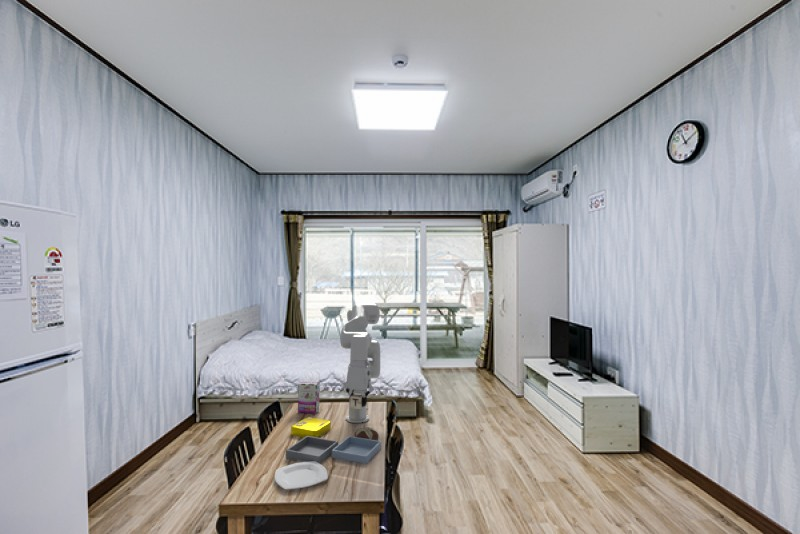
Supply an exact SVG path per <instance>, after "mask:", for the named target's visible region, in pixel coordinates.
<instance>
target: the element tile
mask: <svg viewBox="0 0 800 534" xmlns="http://www.w3.org/2000/svg"><path fill="white" fill-rule="evenodd" d="M331 425H332V424H331V420H328V419H322V418H316V417H312V416H311V417H310V416H308V417H305V418H303V419H302V420H299V421H297V422H296V423H294V424H292V425H291V426H290V435H291V436H295V437H299V438H305V437H306V436H311V437H316V438H318V437H319V438H320V437H322V436H323V435H324V434H326V433H328V432H330V431H331V428H332V427H331ZM321 435H322V436H321Z"/></svg>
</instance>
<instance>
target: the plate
mask: <svg viewBox="0 0 800 534" xmlns="http://www.w3.org/2000/svg"><path fill="white" fill-rule="evenodd" d="M328 479H329V478H328V470H327V468H326V467H325V466H324V465H322V464H321V463H320V464H319V463H318V462H316V461H310V462H306V461H302V462H296V463H292V464H289V465H285V466H282V467H279V468H277V469H275V472H274V481H275V483H276V484H277V485H278V486H280V488H282V489H283V490H286V491H287V490H296V489H298V490H299V489H302V488H303V489H304V488H308V487H312V486H314V485H318V484H320V483H323V482H325V481H327V480H328Z"/></svg>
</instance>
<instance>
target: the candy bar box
mask: <svg viewBox="0 0 800 534" xmlns="http://www.w3.org/2000/svg"><path fill="white" fill-rule="evenodd" d="M297 386H298V387H297V388H298V389H297V390H298V391H297V393H298V397H297V413H298V414H314V415H316V414H317V413H319V412H320V382H313V381H301V382H299V383H298V385H297Z"/></svg>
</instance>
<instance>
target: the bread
mask: <svg viewBox="0 0 800 534" xmlns="http://www.w3.org/2000/svg"><path fill="white" fill-rule="evenodd" d="M353 437H358V438H364V439H370V440H376V441H378V439H379V433H378V432H377V430H375V429H374V428H373V427H368V426H367V427H364V428H362V427H360V428H358V429H357V430H356V431H355V432H354V436H353Z"/></svg>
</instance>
